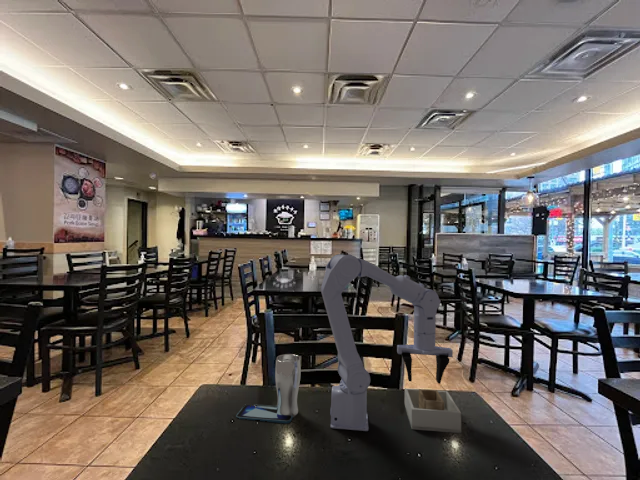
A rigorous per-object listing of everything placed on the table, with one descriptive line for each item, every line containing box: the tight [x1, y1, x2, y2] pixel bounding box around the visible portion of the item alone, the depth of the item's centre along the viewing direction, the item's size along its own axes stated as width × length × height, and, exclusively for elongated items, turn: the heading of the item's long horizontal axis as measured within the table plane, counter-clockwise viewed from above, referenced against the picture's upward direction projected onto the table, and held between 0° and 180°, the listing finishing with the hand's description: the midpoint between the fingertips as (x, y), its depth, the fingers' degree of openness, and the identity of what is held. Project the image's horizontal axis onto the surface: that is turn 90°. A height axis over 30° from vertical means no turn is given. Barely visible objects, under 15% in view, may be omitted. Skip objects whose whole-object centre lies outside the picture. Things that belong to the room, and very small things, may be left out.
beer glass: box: [274, 353, 302, 418], centre depth 87 cm, size 7×7×15 cm
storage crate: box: [404, 388, 462, 434], centre depth 85 cm, size 12×12×5 cm
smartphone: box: [235, 404, 294, 425], centre depth 86 cm, size 7×1×15 cm
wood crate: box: [418, 388, 444, 410], centre depth 85 cm, size 5×7×6 cm
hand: (423, 381), depth 87 cm, fingers open, 7 cm apart
